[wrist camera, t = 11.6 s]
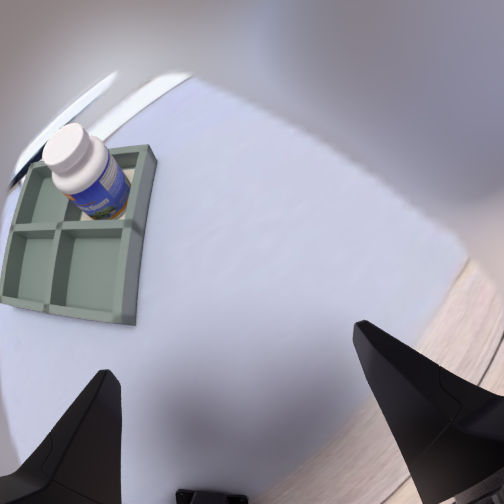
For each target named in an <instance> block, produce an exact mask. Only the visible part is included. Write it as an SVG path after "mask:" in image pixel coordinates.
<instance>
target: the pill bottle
mask: <svg viewBox="0 0 504 504" xmlns="http://www.w3.org/2000/svg"><path fill="white" fill-rule="evenodd" d="M43 161H44V163H45V164H46V165H47V166H48V167H49V168H50V169H51V171H52V179H53V182H54V184H55V186H56V187H57V188H58V189H59V190H60V191H61V192H62V193H63V194H64V195H65V196H66V197H67V198H69V199H70V200H71V201H72V202H73V203H74V204H75V205H76V206H78V207H79V208H80V209H81V210H82V211H83V212H84V213H86V214H87V215H88V216H89V217H90V218H92V219H93V220H115V219H117V218H119V217H120V216H121V215H122V214H123V213H124V212H125V211H126V208H127V203H128V198H129V194H130V189H131V183H130V181H129V179H128V178H127V176H126V175H125V174H124V172H123V171H122V169H121V168H120V166H119V165H118V164H117V162H116V161H115V159H114V158H113V156H112V155H111V153H110V152H109V150H108V149H107V147H106V146H105V144H104V143H103V142H102V141H101V140H100V139H99V138H97V137H95V136H89V135H88V133H87V132H86V131H85V130H84V128H83V127H82V126H81V125H80V124H77V123H72V124H68V125H65V126H63V127H62V128H60V129H59V130H57V131H56V132H55V133H54V134H53V135H52V136H51V137H50V139H49V140H48V142H47V143H46V145H45V147H44V150H43Z"/></svg>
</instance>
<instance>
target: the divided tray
mask: <svg viewBox="0 0 504 504" xmlns="http://www.w3.org/2000/svg"><path fill="white" fill-rule="evenodd" d="M108 150H109V152H110V153H111V155H112V156H113V158H114V159H115V161H116V162H117V164H118V165H119V166H120V168H121V169H122V171H123V172H124V174H125V175H126V176H127V178H128V179H129V181H130V183H131V189H130V194H129V198H128V203H127V208H126V211H125V212H124V213H123V214H122V215H121V216H120V217H119V218H117V219H115V220H93V219H92V218H90V217H89V216H88V215H87V214H86V213H84V212H83V211H82V210H81V209H80V208H79V207H78V206H76V205H75V204H74V203H73V202H72V201H71V200H70V199H69V198H67V197H66V196H65V195H64V194H63V193H62V192H61V191H60V190H59V189H58V188H57V187H56V186H55V184H54V182H53V179H52V171H51V169H50V168H49V167H48V166H47V165H46V164H45V163H44V161H40V162H35V163H31V164H30V167H29V170H28V172H27V175H26V178H25V181H24V183H23V186H22V189H21V192H20V196H19V199H18V202H17V205H16V209H15V212H14V216H13V220H12V224H11V227H10V232H9V236H8V240H7V245H6V250H5V255H4V260H3V266H2V272H1V279H0V303H2V304H6V305H10V306H15V307H19V308H24V309H29V310H34V311H39V312H44V313H50V314H55V315H61V316H67V317H73V318H80V319H87V320H94V321H101V322H109V323H117V324H125V325H134V326H136V309H137V296H138V284H139V274H140V265H141V256H142V248H143V240H144V233H145V226H146V220H147V213H148V207H149V202H150V196H151V190H152V185H153V180H154V175H155V170H156V165H157V160H156V158H155V156H154V154H153V152H152V150H151V148H150V146H149V144H146V145H137V146H128V147H120V148H112V149H108Z"/></svg>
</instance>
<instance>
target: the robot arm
mask: <svg viewBox="0 0 504 504" xmlns="http://www.w3.org/2000/svg"><path fill="white" fill-rule="evenodd" d="M353 343H354V346H355V349H356V352H357V355H358V357H359V360H360V363H361V366H362V368H363V371H364V374H365V377H366V379H367V381H368V384H369V386H370V388H371V390H372V392H373V394H374V396H375V398H376V400H377V402H378V404H379V406H380V408H381V410H382V412H383V415H384V417H385V419H386V421H387V423H388V425H389V427H390V429H391V432H392V434H393V436H394V438H395V440H396V442H397V445H398V447H399V449H400V451H401V453H402V456H403V458H404V460H405V462H406V465H407V467H408V470H409V472H410V474H411V477H412V479H413V481H414V484H415V486H416V488H417V491H418V493H419V496H420V498H421V501H422V503H423V504H439V503H441V502H443V501H446V500H448V499H450V498H452V497H454V499H455V502H453V504H504V396H500V395H496V394H494V393H492V392H489V391H487V390H485V389H483V388H481V387H479V386H476V385H474V384H472V383H470V382H468V381H466V380H464V379H462V378H460V377H458V376H457V375H455V374H453V373H451V372H450V371H448V370H446V369H445V368H443V367H441V366H439V365H438V364H436V363H435V362H433V361H432V360H430V359H428V358H427V357H425V356H424V355H422V354H420V353H419V352H417V351H416V350H414V349H412V348H411V347H409V346H407V345H406V344H404V343H403V342H401V341H399V340H398V339H396V338H395V337H393V336H391V335H390V334H388V333H386V332H385V331H383V330H382V329H380V328H378V327H377V326H375V325H374V324H372V323H370V322H369V321H367V320H362V321H359V322H356V323H355V324H354V331H353ZM121 433H122V407H121V385H120V383H119V381H118V380H117V378H116V377H115V376H114V374H113V373H112V372H111V371H110V370H108V369H106V370H99V371H98V372H97V374H96V375H95V376H94V377H93V378H92V380H91V381H90V382H89V383H88V385H87V386H86V387H85V388H84V389H83V391H82V392H81V393H80V394H79V396H78V397H77V398H76V399H75V401H74V402H73V403H72V404H71V406H70V407H69V408H68V409H67V411H66V412H65V413H64V414H63V416H62V417H61V418H60V420H59V421H58V422H57V423H56V425H55V426H54V427H53V429H52V430H51V432H49V434H48V435H47V436H46V438H45V439H44V440H43V441H42V443H41V444H40V445H39V446H38V447H37V449H36V450H35V451H34V452H33V453H32V454H31V455H30V457H29V458H28V459H27V460H26V461H25V462H24V463H23V464H22V465H21V466H20V468H19V469H18V470H17V471H15V472H14V473H12V474H10V475H7V476H2V477H0V504H121ZM179 493H181V494H183V495H180V494H179ZM241 499H244V500H245V501H241ZM176 503H177V504H248V497H247V496H244V495H228V494H222V493H211V492H201V491H197V492H196V491H188V490H181V489H180V490H177V492H176Z"/></svg>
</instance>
